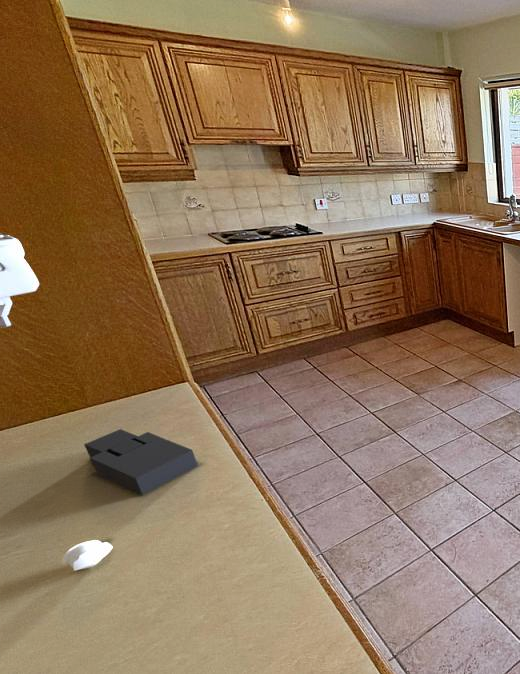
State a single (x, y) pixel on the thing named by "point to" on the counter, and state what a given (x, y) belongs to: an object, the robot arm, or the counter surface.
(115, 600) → the counter surface
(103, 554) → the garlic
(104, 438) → the pad
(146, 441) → the base pad
